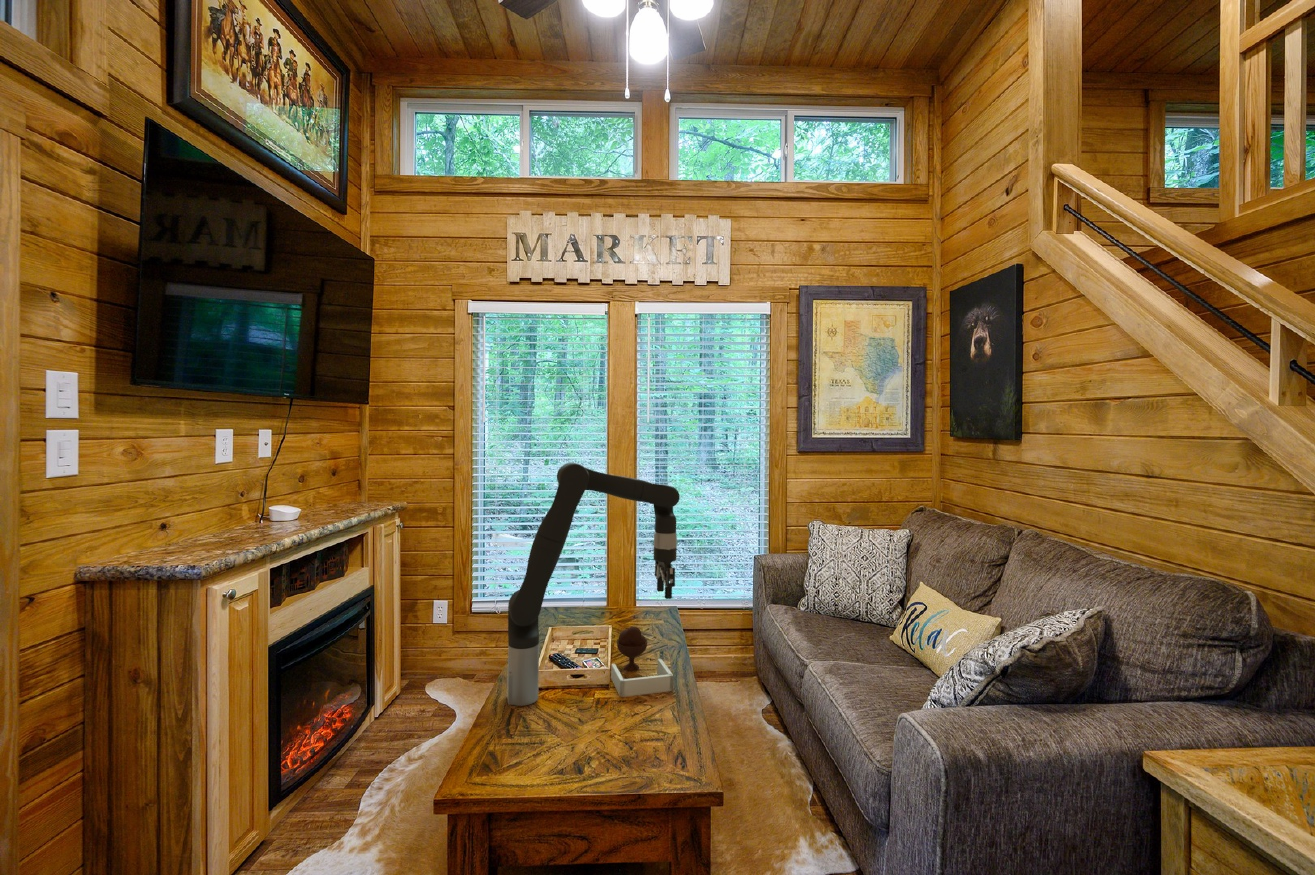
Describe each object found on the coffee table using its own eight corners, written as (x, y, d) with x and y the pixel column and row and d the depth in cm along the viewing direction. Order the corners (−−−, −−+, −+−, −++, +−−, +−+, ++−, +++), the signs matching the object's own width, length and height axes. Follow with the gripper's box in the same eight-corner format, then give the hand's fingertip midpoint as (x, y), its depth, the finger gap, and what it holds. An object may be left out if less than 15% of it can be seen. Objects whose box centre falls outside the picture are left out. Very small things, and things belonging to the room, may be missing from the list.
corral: (620, 697, 183) (620, 681, 183) (611, 678, 196) (611, 664, 196) (673, 691, 188) (673, 675, 188) (660, 673, 201) (661, 658, 201)
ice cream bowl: (652, 666, 207) (653, 624, 206) (634, 677, 197) (635, 633, 197) (628, 659, 212) (629, 618, 212) (609, 670, 203) (610, 627, 203)
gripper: (648, 542, 198) (647, 589, 199) (660, 550, 185) (659, 602, 185) (669, 541, 201) (668, 588, 201) (683, 549, 187) (682, 600, 187)
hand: (664, 594), depth 193 cm, fingers open, 8 cm apart
